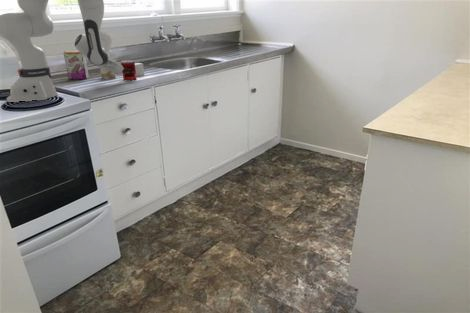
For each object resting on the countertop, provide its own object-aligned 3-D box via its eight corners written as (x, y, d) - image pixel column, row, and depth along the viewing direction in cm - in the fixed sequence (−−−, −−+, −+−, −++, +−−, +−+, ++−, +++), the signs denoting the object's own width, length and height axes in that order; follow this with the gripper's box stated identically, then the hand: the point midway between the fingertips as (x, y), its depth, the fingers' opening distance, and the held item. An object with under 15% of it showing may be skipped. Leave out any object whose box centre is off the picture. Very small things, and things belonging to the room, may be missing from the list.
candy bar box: (68, 79, 218) (62, 52, 211) (71, 78, 222) (66, 51, 216) (86, 79, 218) (81, 51, 211) (89, 77, 222) (84, 50, 216)
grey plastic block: (136, 76, 223) (134, 64, 220) (130, 75, 227) (129, 64, 224) (144, 74, 227) (142, 63, 225) (138, 73, 231) (137, 62, 228)
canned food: (131, 78, 218) (129, 59, 213) (139, 79, 213) (137, 60, 209) (120, 80, 212) (117, 61, 208) (128, 81, 208) (126, 62, 203)
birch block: (106, 79, 215) (104, 67, 213) (101, 78, 219) (99, 66, 216) (115, 78, 220) (113, 66, 217) (110, 76, 223) (108, 65, 220)
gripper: (114, 55, 190) (132, 71, 200) (94, 53, 203) (113, 68, 213) (108, 65, 189) (126, 80, 199) (89, 62, 201) (107, 76, 212)
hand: (119, 74), depth 206 cm, fingers closed
